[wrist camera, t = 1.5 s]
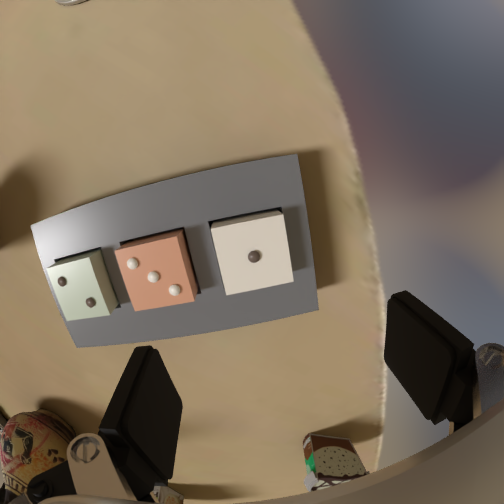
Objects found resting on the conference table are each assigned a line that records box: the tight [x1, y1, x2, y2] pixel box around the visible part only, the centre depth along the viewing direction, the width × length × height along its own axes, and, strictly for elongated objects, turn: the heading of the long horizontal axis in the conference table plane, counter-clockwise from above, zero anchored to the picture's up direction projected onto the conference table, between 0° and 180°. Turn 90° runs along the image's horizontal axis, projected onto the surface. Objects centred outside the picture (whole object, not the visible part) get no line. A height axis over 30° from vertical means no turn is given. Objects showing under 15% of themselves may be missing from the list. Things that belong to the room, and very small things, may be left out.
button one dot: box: [211, 209, 294, 295], centre depth 22 cm, size 5×5×4 cm
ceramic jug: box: [0, 409, 76, 504], centre depth 19 cm, size 17×15×30 cm
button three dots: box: [115, 228, 199, 311], centre depth 22 cm, size 5×5×4 cm
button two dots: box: [46, 248, 119, 321], centre depth 22 cm, size 5×5×4 cm
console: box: [31, 154, 319, 348], centre depth 24 cm, size 14×26×4 cm, turn 101°
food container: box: [303, 433, 370, 492], centre depth 33 cm, size 12×6×10 cm, turn 61°
